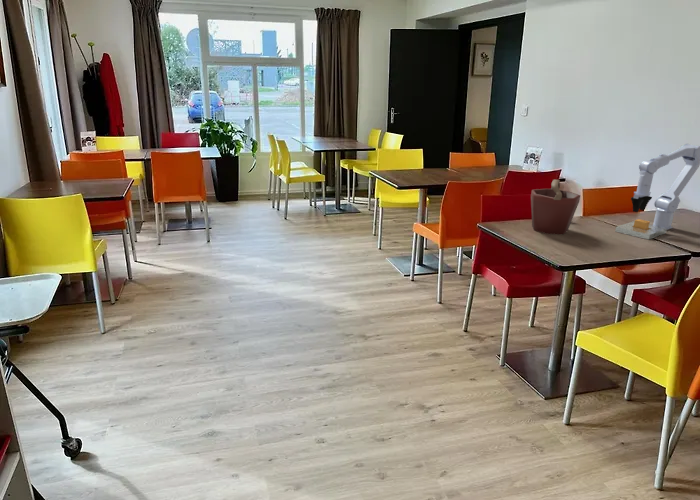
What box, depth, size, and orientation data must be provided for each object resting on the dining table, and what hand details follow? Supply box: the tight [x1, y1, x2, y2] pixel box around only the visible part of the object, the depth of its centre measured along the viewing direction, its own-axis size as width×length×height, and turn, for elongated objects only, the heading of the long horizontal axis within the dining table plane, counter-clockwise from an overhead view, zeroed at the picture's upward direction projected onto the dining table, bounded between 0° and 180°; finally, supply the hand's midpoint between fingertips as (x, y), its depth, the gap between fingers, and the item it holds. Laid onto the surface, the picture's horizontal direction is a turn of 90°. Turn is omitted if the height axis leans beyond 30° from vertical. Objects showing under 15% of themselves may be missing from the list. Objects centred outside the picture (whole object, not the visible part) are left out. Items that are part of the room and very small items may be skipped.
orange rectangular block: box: [634, 218, 651, 230], centre depth 254 cm, size 4×6×6 cm
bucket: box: [530, 179, 581, 235], centre depth 250 cm, size 24×22×25 cm
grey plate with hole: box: [615, 220, 668, 240], centre depth 254 cm, size 20×16×2 cm
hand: (638, 210), depth 258 cm, fingers open, 7 cm apart
